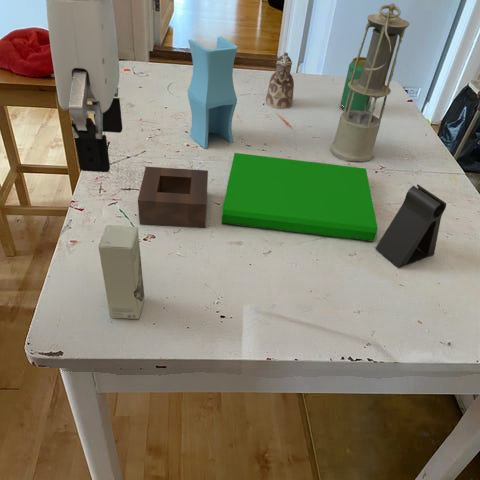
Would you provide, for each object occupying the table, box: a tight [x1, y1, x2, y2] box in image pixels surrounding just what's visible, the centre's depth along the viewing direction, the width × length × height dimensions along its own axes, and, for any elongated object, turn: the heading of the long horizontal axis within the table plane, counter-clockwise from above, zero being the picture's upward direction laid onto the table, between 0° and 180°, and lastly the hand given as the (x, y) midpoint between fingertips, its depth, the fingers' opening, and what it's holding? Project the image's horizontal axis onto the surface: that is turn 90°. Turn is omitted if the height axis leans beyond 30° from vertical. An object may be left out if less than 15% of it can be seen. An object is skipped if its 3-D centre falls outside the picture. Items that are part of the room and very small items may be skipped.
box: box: [98, 224, 145, 320], centre depth 66 cm, size 5×4×13 cm
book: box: [221, 152, 378, 242], centre depth 93 cm, size 22×28×3 cm
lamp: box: [329, 3, 410, 162], centre depth 100 cm, size 10×13×30 cm
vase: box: [187, 36, 238, 150], centre depth 103 cm, size 8×8×20 cm
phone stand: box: [375, 183, 447, 269], centre depth 81 cm, size 9×6×12 cm, turn 121°
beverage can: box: [340, 56, 373, 111], centre depth 126 cm, size 8×8×12 cm
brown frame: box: [137, 166, 209, 229], centre depth 87 cm, size 12×12×5 cm
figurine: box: [265, 52, 295, 110], centre depth 124 cm, size 7×7×12 cm
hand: (102, 149), depth 55 cm, fingers open, 9 cm apart
